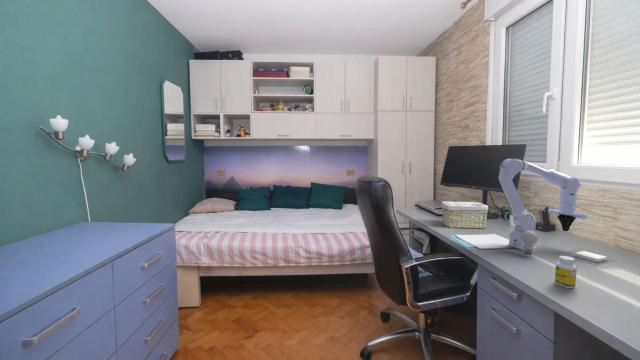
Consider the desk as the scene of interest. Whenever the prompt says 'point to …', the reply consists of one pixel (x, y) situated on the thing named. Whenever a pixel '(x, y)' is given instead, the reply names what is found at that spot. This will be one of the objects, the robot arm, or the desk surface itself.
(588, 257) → the tile
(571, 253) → the mat
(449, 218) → the storage basket
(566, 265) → the supplement bottle
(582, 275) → the desk surface
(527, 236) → the lightbulb
